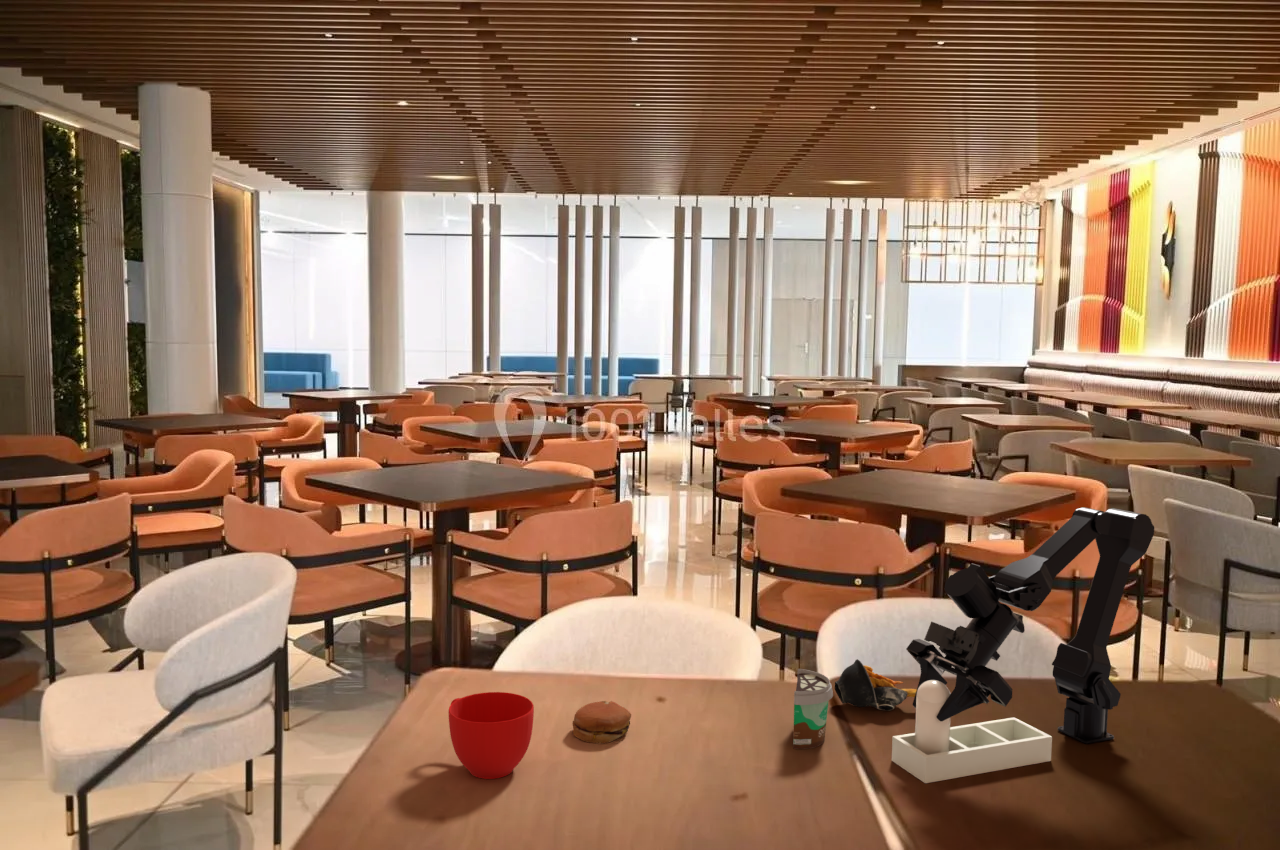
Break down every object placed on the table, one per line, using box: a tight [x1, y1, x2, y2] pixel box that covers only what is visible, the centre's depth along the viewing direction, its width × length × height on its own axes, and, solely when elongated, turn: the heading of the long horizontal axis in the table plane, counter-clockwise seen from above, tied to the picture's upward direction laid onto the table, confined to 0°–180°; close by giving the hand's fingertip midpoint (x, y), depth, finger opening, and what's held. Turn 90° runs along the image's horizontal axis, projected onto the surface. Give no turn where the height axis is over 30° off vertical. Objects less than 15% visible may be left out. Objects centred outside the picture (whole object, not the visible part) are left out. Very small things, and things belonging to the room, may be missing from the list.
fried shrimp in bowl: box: [834, 659, 917, 711], centre depth 184 cm, size 9×11×18 cm
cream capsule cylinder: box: [914, 680, 951, 755], centre depth 157 cm, size 5×5×12 cm
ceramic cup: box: [448, 691, 535, 780], centre depth 156 cm, size 13×17×10 cm
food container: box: [792, 668, 834, 750], centre depth 168 cm, size 12×6×10 cm, turn 168°
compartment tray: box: [891, 717, 1053, 784], centre depth 161 cm, size 24×9×4 cm, turn 111°
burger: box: [572, 700, 632, 744], centre depth 170 cm, size 10×9×5 cm
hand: (926, 713), depth 157 cm, fingers closed on cream capsule cylinder, 5 cm apart
